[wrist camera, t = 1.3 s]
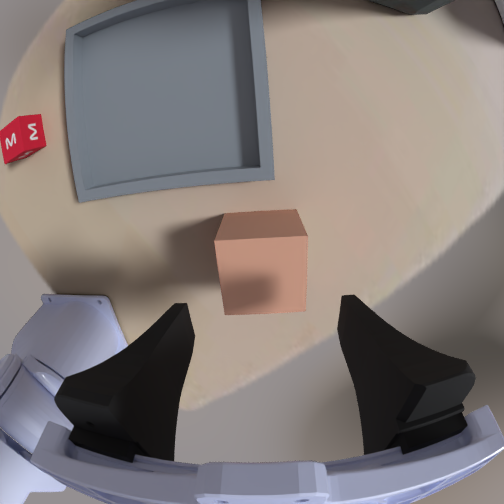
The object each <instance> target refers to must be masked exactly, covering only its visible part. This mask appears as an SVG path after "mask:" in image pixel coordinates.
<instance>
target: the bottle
mask: <svg viewBox="0 0 504 504" xmlns="http://www.w3.org/2000/svg"><path fill="white" fill-rule="evenodd" d="M369 1H371V2H375V3H378V4H381V5H384V6H387V7H390V8H393V9H396V10H399V11H401V12H404V13H407V14H411V15H415V14H428V13H430V12H432V11H433V10H435V9H438V8H440V7H442V6H444V5H446V4H448V3H450V2H452V1H454V0H369Z"/></svg>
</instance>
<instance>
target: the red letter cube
mask: <svg viewBox="0 0 504 504" xmlns="http://www.w3.org/2000/svg"><path fill="white" fill-rule="evenodd" d="M0 141H1V147H2V153H3V158H4V163H5V164H7V163H10V162H13V161H17V160H20V159H23V158H27V157H28V156H30V155H32V154H33V153H35V152H37V151H38V150H40V149H42V148H43V147H45V146H46V141H45V136H44V130H43V124H42V118H41V114H37V115H27V116H18V117H17V118H16V119H14V120H13V121H12V122H11V123H9V124H8V125H7V126H6V127H4V128H3V129H2V130H1V131H0Z"/></svg>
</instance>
